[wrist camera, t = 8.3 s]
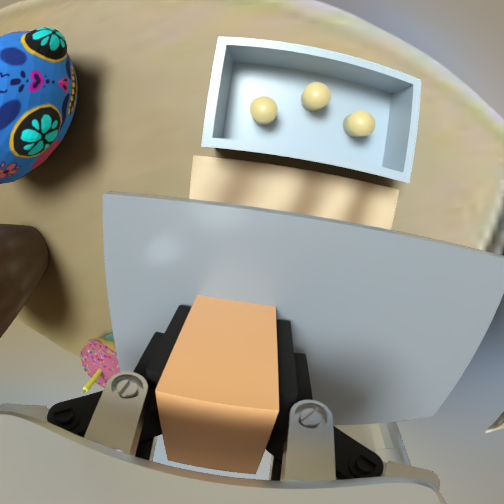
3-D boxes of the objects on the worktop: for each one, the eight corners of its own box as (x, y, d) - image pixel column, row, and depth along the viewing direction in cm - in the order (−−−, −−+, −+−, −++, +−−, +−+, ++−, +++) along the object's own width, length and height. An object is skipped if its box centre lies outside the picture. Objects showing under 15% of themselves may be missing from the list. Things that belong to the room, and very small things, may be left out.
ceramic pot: (102, 164, 28) (6, 184, 14) (13, 180, 29) (-64, 204, 15) (109, 30, 22) (32, -13, 8) (17, 70, 23) (-56, 63, 9)
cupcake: (95, 314, 35) (50, 365, 24) (147, 334, 36) (112, 396, 24) (97, 356, 38) (62, 407, 27) (145, 374, 39) (117, 433, 27)
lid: (497, 250, 11) (577, 306, 5) (425, 400, 15) (457, 472, 9) (122, 187, 11) (6, 231, 5) (135, 377, 15) (93, 464, 9)
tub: (395, 90, 24) (421, 79, 18) (384, 176, 27) (409, 183, 22) (227, 57, 24) (218, 36, 18) (214, 147, 27) (201, 146, 22)
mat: (397, 189, 28) (399, 190, 27) (369, 296, 32) (370, 297, 32) (194, 155, 28) (193, 155, 27) (185, 271, 32) (184, 272, 32)
